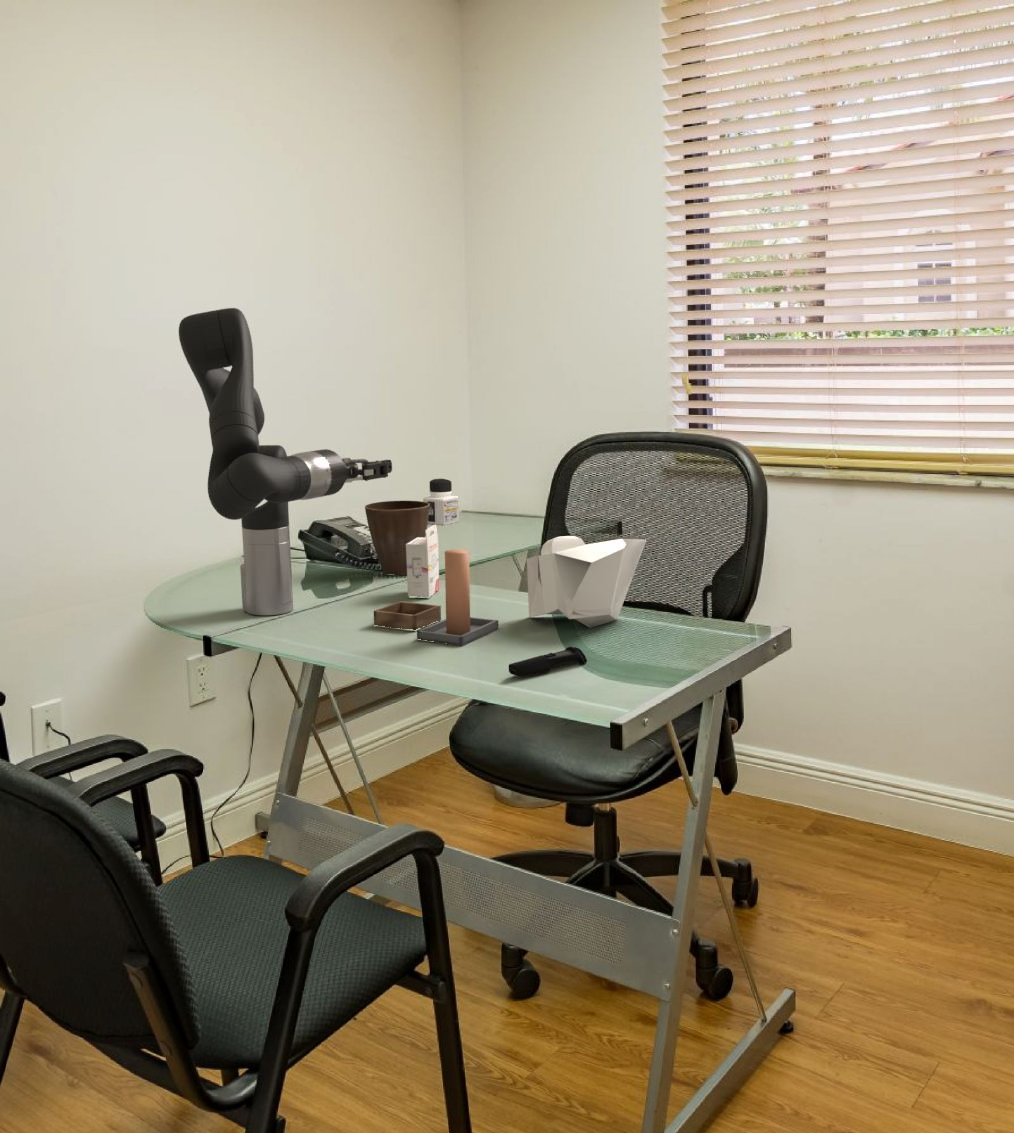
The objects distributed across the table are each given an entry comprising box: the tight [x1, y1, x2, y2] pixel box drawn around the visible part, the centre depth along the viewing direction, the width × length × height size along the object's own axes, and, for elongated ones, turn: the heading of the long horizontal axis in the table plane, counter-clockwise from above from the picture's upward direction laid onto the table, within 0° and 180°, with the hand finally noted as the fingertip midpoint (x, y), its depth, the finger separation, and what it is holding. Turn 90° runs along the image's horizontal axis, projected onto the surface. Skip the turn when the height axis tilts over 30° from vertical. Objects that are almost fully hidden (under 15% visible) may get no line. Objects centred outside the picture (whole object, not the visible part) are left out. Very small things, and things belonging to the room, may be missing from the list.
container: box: [422, 478, 460, 526], centre depth 338 cm, size 8×8×13 cm
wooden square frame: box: [373, 600, 442, 630], centre depth 218 cm, size 9×9×3 cm
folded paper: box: [526, 535, 647, 629], centre depth 217 cm, size 17×24×17 cm
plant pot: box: [364, 500, 430, 576], centre depth 265 cm, size 15×15×16 cm
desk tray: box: [416, 616, 499, 647], centre depth 209 cm, size 9×13×2 cm
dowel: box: [444, 548, 471, 635], centre depth 208 cm, size 4×4×15 cm
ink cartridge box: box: [406, 524, 440, 597], centre depth 242 cm, size 9×5×15 cm, turn 168°
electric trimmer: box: [508, 646, 588, 677], centre depth 186 cm, size 4×16×3 cm, turn 130°
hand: (369, 464), depth 197 cm, fingers open, 8 cm apart
